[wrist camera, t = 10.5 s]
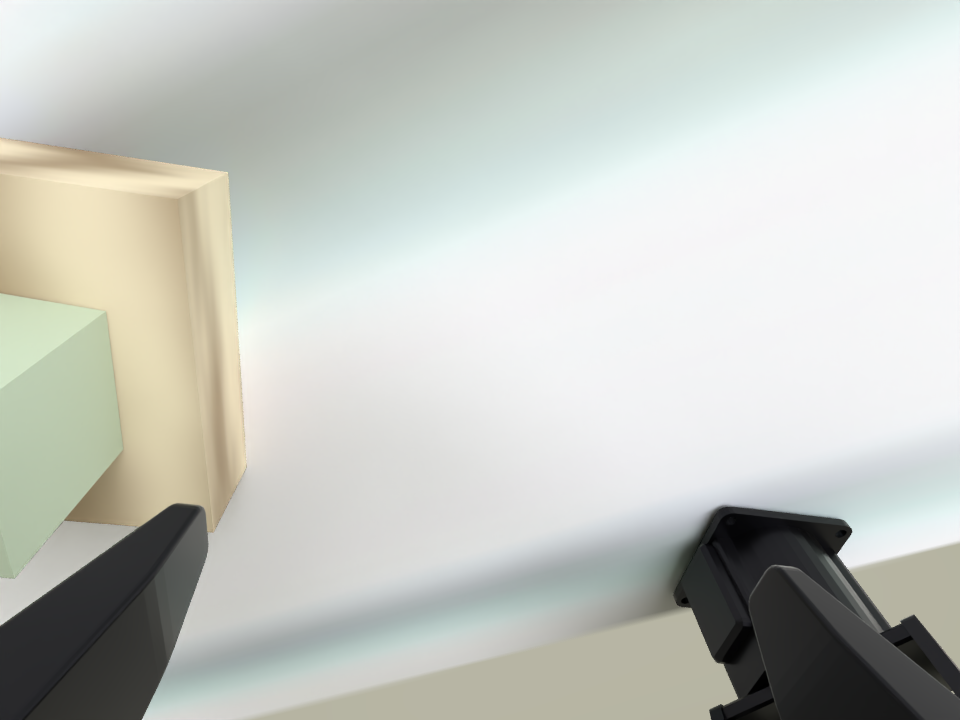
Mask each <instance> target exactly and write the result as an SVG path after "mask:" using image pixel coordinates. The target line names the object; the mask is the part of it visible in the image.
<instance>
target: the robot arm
mask: <svg viewBox="0 0 960 720" xmlns="http://www.w3.org/2000/svg"><path fill="white" fill-rule="evenodd" d="M851 533H852V529H851V528H850V526H849V525H848V524H847V523H846V522H845V521H844V520H841V519H832V518H824V517H815V516H806V515H798V514H789V513H781V512H772V511H763V510H755V509H746V508H738V507H725V508H722V509H721V510H719V511H718V512H717V514H716V516H715V517H714V519H713V521H712V523H711V525H710V527H709V529H708V530H707V532H706V534H705V536H704V538H703V540H702V542H701V543H700V545H699V547H698V549H697V551H696V553H695V555H694V556H693V558H692V560H691V562H690V564H689V566H688V568H687V569H686V571H685V573H684V575H683V577H682V579H681V581H680V582H679V584H678V586H677V588H676V590H675V592H674V595H673V596H674V598H675V601H676V603H677V605H678V606H681V607H689V608H692V610H693V613H694V615H695V617H696V619H697V622H698V625H699V627H700V629H701V632H702V634H703V636H704V639H705V641H706V644H707V646H708V648H709V651H710V653H711V655H712V657H713V658H714V660H715V661H716V662H717V663H721V664H724V666H725V669H726V671H727V673H728V676H729V678H730V680H731V682H732V685H733V687H734V689H735V692H736V694H737V696H738V699H737V700H735V701H733V702H731V703H729V704H727V705H725V706H723V705H721V704H720V705H718V706H716V707H714V708H712V709H710V710H709V711H710V716H711V720H960V670H959V668H958V667H957V666H956V664H955V663H954V662H953V661H952V660H951V658H950V657H949V656H948V655H947V654H946V652H945V651H944V650H943V649H942V648H941V646H940V645H939V644H938V643H937V642H936V640H935V639H934V638H933V637H932V636H931V634H930V633H929V632H928V631H927V630H926V628H925V627H924V626H923V625H922V624H921V623H920V621H919V620H918V619H917V618H916V616H915V615H911V616H909V617H907V618H905V619H903V620H901V621H900V622H901V624H899V625H897V626H895V627H893V628H891V626H890V625H889V623H888V622H887V621H886V620H885V618H884V617H883V615H882V614H881V613H880V612H879V610H878V609H877V607H876V606H875V605H874V604H873V602H872V601H871V599H870V598H869V597H868V595H867V594H866V593H865V592H864V590H863V589H862V588H861V586H860V585H859V584H858V582H857V581H856V580H855V579H854V577H853V576H852V574H851V573H850V572H849V570H848V569H847V568H846V566H845V565H844V564H843V562H842V561H841V560H840V558H839V557H838V556H837V553H838V552H839V551H840V549H841V548H842V546H843V545H844V544H845V542H846V541H847V539H848V538H849V537H850V535H851ZM207 552H208V533H207V521H206V512H205V509H204V507H203V506H200V505H194V504H184V503H175V504H172V505H170V506H168V507H167V508H166V509H164V510H163V511H161V512H160V513H158V514H157V515H156V516H154V517H153V518H151V519H150V520H149V521H147V522H146V523H144V524H143V525H142V526H140V527H139V528H137V529H136V530H135V531H133V532H132V533H130V534H129V535H128V536H126V537H125V538H123V539H122V540H120V541H119V542H118V543H116V544H115V545H113V546H112V547H111V548H109V549H108V550H106V551H105V552H104V553H102V554H101V555H99V556H98V557H97V558H95V559H94V560H92V561H91V562H90V563H88V564H87V565H85V566H84V567H82V568H81V569H80V570H78V571H77V572H75V573H74V574H73V575H71V576H70V577H68V578H67V579H66V580H64V581H63V582H61V583H60V584H59V585H57V586H56V587H54V588H53V589H52V590H50V591H49V592H47V593H46V594H45V595H43V596H42V597H40V598H39V599H37V600H36V601H35V602H33V603H32V604H30V605H29V606H28V607H26V608H25V609H23V610H22V611H21V612H19V613H18V614H16V615H15V616H14V617H12V618H11V619H9V620H8V621H7V622H5V623H4V624H2V625H1V626H0V720H142V718H143V716H144V714H145V712H146V710H147V708H148V706H149V704H150V702H151V699H152V697H153V695H154V693H155V691H156V689H157V687H158V685H159V683H160V681H161V678H162V676H163V674H164V672H165V670H166V667H167V665H168V663H169V660H170V657H171V655H172V652H173V649H174V647H175V644H176V641H177V638H178V636H179V633H180V630H181V627H182V625H183V622H184V619H185V616H186V613H187V611H188V608H189V605H190V602H191V599H192V597H193V594H194V591H195V588H196V586H197V583H198V580H199V577H200V574H201V572H202V569H203V566H204V563H205V560H206V557H207ZM951 691H953V692H954V693H955V694H953V693H952V692H951Z"/></svg>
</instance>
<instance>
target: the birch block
mask: <svg viewBox="0 0 960 720" xmlns="http://www.w3.org/2000/svg"><path fill="white" fill-rule="evenodd" d="M0 293H2V294H8V295H14V296H20V297H25V298H31V299H37V300H43V301H49V302H55V303H61V304H67V305H73V306H79V307H85V308H91V309H96V310H102V311H106V315H107V323H108V331H109V339H110V347H111V355H112V362H113V370H114V378H115V386H116V394H117V402H118V410H119V418H120V426H121V434H122V441H123V450H122V452H121V453H120V454H119V455H118V456H117V457H116V459H115V460H114V461H113V462H112V463H111V465H110V466H109V467H108V468H107V469H106V471H105V472H104V473H103V474H102V475H101V477H100V478H99V479H98V480H97V481H96V482H95V484H94V485H93V486H92V487H91V488H90V490H89V491H88V492H87V493H86V494H85V496H84V497H83V498H82V499H81V500H80V502H79V503H78V504H77V505H76V506H75V507H74V509H73V510H72V511H71V512H70V513H69V515H68V516H67V517H66V518H65V519H64V520H65V521H77V522H89V523H102V524H114V525H126V526H138V527H140V526H142V525H143V524H144V523H146V522H147V521H149V520H150V519H151V518H153V517H154V516H156V515H157V514H158V513H160V512H161V511H163V510H164V509H166V508H167V507H168V506H170V505H172V504H175V503H184V504H194V505H200V506H203V507H204V509H205V512H206V521H207V532H212V533H214V531H215V529H216V527H217V525H218V523H219V521H220V519H221V517H222V515H223V513H224V511H225V509H226V507H227V505H228V503H229V501H230V499H231V497H232V495H233V493H234V491H235V489H236V487H237V485H238V483H239V481H240V479H241V477H242V475H243V473H244V471H245V469H246V467H247V466H246V450H245V434H244V418H243V402H242V386H241V370H240V354H239V338H238V322H237V306H236V290H235V274H234V258H233V242H232V226H231V210H230V194H229V178H228V172H222V171H215V170H209V169H202V168H196V167H189V166H183V165H176V164H169V163H163V162H156V161H150V160H143V159H136V158H130V157H123V156H117V155H110V154H104V153H97V152H90V151H84V150H77V149H71V148H64V147H57V146H51V145H44V144H38V143H31V142H25V141H18V140H11V139H5V138H0Z"/></svg>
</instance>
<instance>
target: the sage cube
mask: <svg viewBox="0 0 960 720" xmlns="http://www.w3.org/2000/svg"><path fill="white" fill-rule="evenodd" d="M122 450H123V441H122V434H121V426H120V418H119V410H118V402H117V394H116V386H115V378H114V370H113V362H112V355H111V347H110V339H109V331H108V323H107V315H106V311H102V310H96V309H91V308H85V307H79V306H73V305H67V304H61V303H55V302H49V301H43V300H37V299H31V298H25V297H20V296H14V295H8V294H2V293H0V577H3V578H12V579H15V578H16V577H17V575H18V574H19V573H20V572H21V571H22V569H23V568H24V567H25V566H26V565H27V563H28V562H29V561H30V560H31V559H32V557H33V556H34V555H35V554H36V553H37V552H38V550H39V549H40V548H41V547H42V546H43V544H44V543H45V542H46V541H47V540H48V538H49V537H50V536H51V535H52V534H53V532H54V531H55V530H56V529H57V528H58V527H59V525H60V524H61V523H62V522H63V521H64V519H65V518H66V517H67V516H68V515H69V513H70V512H71V511H72V510H73V509H74V507H75V506H76V505H77V504H78V503H79V502H80V500H81V499H82V498H83V497H84V496H85V494H86V493H87V492H88V491H89V490H90V488H91V487H92V486H93V485H94V484H95V482H96V481H97V480H98V479H99V478H100V477H101V475H102V474H103V473H104V472H105V471H106V469H107V468H108V467H109V466H110V465H111V463H112V462H113V461H114V460H115V459H116V457H117V456H118V455H119V454H120V453H121V452H122Z"/></svg>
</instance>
